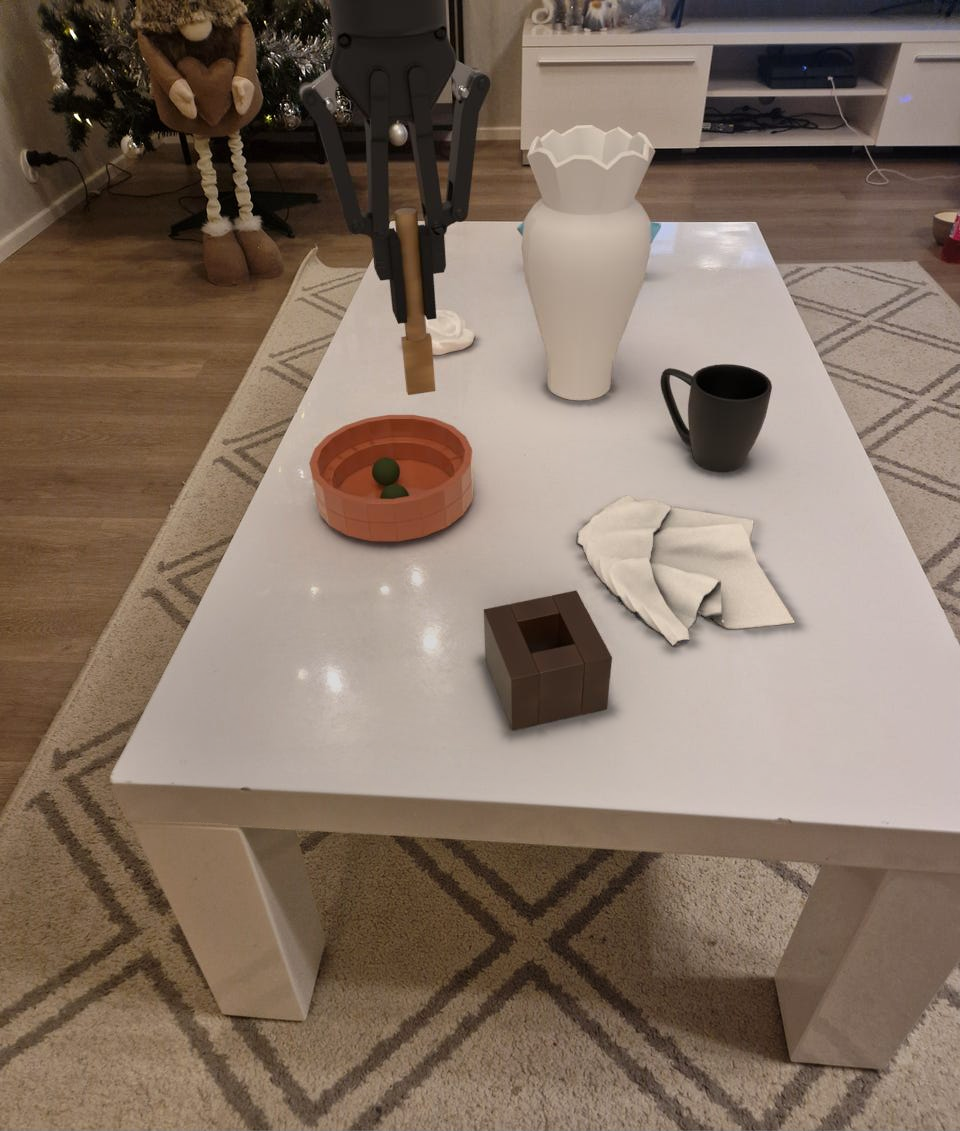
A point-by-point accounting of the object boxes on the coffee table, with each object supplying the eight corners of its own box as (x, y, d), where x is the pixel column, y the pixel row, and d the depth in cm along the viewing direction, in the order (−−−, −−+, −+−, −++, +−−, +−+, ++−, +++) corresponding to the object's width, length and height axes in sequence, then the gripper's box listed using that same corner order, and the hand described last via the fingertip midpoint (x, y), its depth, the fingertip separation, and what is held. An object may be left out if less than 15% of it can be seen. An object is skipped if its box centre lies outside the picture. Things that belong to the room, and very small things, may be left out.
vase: (657, 377, 111) (685, 132, 92) (600, 427, 102) (618, 166, 83) (560, 349, 118) (568, 116, 99) (498, 393, 109) (494, 146, 90)
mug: (675, 421, 102) (685, 347, 96) (769, 454, 96) (786, 378, 90) (638, 450, 98) (645, 374, 92) (734, 488, 92) (749, 409, 86)
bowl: (328, 561, 84) (320, 516, 81) (310, 470, 97) (302, 428, 93) (491, 530, 87) (490, 486, 84) (453, 446, 100) (450, 404, 96)
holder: (511, 731, 68) (511, 679, 64) (485, 660, 74) (483, 608, 70) (607, 709, 69) (612, 657, 65) (573, 641, 75) (576, 590, 71)
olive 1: (376, 493, 92) (372, 469, 90) (371, 477, 94) (368, 454, 92) (403, 488, 92) (401, 464, 90) (398, 473, 94) (395, 450, 92)
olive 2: (384, 521, 88) (381, 497, 86) (379, 504, 90) (376, 481, 88) (413, 516, 88) (410, 492, 86) (407, 499, 90) (405, 476, 88)
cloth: (607, 487, 92) (608, 468, 91) (818, 537, 85) (823, 517, 83) (534, 605, 79) (534, 586, 77) (778, 678, 71) (784, 658, 69)
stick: (409, 398, 73) (391, 216, 63) (405, 388, 74) (387, 209, 64) (436, 393, 73) (423, 213, 64) (432, 384, 74) (419, 206, 65)
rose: (420, 292, 123) (484, 300, 120) (423, 322, 126) (485, 330, 123) (391, 321, 116) (458, 330, 113) (394, 352, 118) (459, 361, 116)
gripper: (482, -55, 58) (490, 285, 73) (262, -41, 56) (318, 307, 71) (512, -44, 52) (514, 321, 68) (269, -29, 50) (328, 347, 65)
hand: (414, 313), depth 69 cm, fingers closed on stick, 2 cm apart
